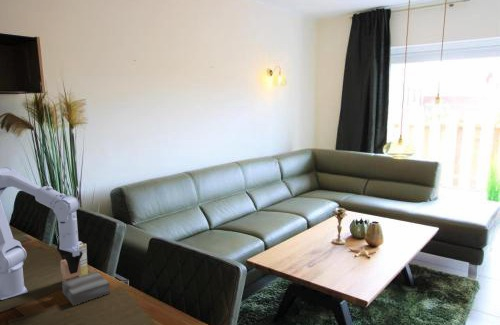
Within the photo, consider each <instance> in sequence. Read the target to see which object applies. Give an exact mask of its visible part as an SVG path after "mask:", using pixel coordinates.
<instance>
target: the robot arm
mask: <svg viewBox="0 0 500 325" xmlns="http://www.w3.org/2000/svg"><path fill="white" fill-rule="evenodd" d="M10 187H11V188H14V189H17V190H20V191H21V192H24V193H27V194H29V195H31V196H34V198H35V201H36V202H37V203H39V204H42V205H43V206H46V207H47V208H49V209H51V210H52V211H53V213H54V214H55V215H56V220H57V223H58V225H57V226H58V237H59V238H58V239H59V246H58V247H59V248H57V252H58V253H59V255H60V257H61V260H64V259H66V261H67V264H68V268H69V271H70V274H73V273H77V271H78V266H79V261H80V259H81V257H82V255H83V253H82V252H79V245H82V243H83V242H82V241H80V240H79V231H78V218H77V217H78V216H77V210H79V209H80V201H79V200H78V198H77V197H75V196H74V195H71V194H70V195H69V194H68V195H66V194H65V193H64V192H63V193H62V192H59V191H58V190H55V189H54V188H53V187H52V186H51V185H49V186H45V185H44V186H40V185H38V184H36V183H34V182H33V181H32V180H30V179H28V178H26V177H24V176H23V175H22V174H20V173H19V172H18V170H15V169H13V168H11V167H9V166H4V167H1V168H0V197H1V196H2V194H3V193H4V191H5V190H7V189H8V188H10ZM26 259H27V251H26V249H25V248H24V247H23V245H22V243H21V241H19V240H17V239H15V238H14V236H13V233H12V229H11V227H10V223H9V220H8V217H7V214H6V212H5V209H4V205H3V202H2V200H1V198H0V300H1V301H2V300H7V299H9V298H13V297H17V296H21V295H23V294H27V293H29V292H28V290H27V287H26V286H25V281H24V270H23V266H24V261H25V260H26Z"/></svg>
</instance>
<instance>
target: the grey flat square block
mask: <svg viewBox="0 0 500 325" xmlns="http://www.w3.org/2000/svg"><path fill="white" fill-rule="evenodd" d="M110 286H111V285H110V282H109V281H108V280H107V279H105V277H103V275H101V274H100V273H99V272H97V271H95V272H92V273H88V275H84V276H81V277H78V278H74V279H71V280H67V281H64V282H63V281H62V282H61V287H62V293H63V295H64V296H65V298H66V299H67V300H68V301H69V302H70V304H72V306H73V307H75V306H77V304H78V305H81V304H83V303H82V302H84V303H86V302H85V301H87V302H89V301H88V300H90V301H92V300H91V299H93V300H95V299H94V298H96V299H98V298H97V297H99V298H101V297H100V296H102V297H104V296H103V295H105V296H107V295H106V294H108V295H110V294H111V289H110V288H111V287H110ZM109 293H110V294H109ZM80 303H81V304H80ZM74 305H75V306H74Z"/></svg>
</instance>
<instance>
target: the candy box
mask: <svg viewBox="0 0 500 325" xmlns="http://www.w3.org/2000/svg"><path fill="white" fill-rule="evenodd" d="M87 248H88V247H87V243H84V242H82V245H79V252H82V253H83V255H82V257H81V259H80V264H81V275H78V276H75V277H71V278H68V279H65V278H64V277H63V276H62V279H63V280H62V282H64V281H67V280H71V279H74V278H78V277H81V276H84V275H88V274H89V272H88V255H87V254H88V249H87Z"/></svg>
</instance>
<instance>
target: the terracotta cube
mask: <svg viewBox="0 0 500 325" xmlns="http://www.w3.org/2000/svg"><path fill="white" fill-rule="evenodd" d="M59 262H60V274H61V276H62V278H63V277H64V278H65V279H68V278H71V277H75V276H78V275H81V264H80V261H79V266H78V271H77V273H73V274H70V271H69V268H68V264H67V261H66V259H64V260H62V259H61V260H60V261H59Z"/></svg>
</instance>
